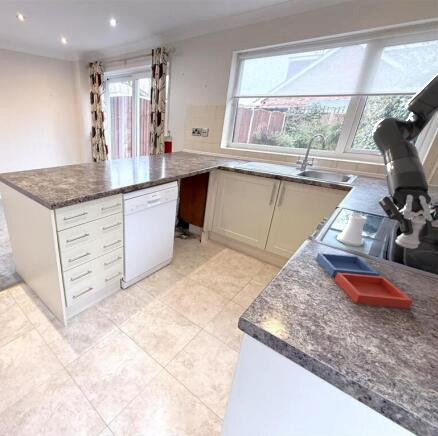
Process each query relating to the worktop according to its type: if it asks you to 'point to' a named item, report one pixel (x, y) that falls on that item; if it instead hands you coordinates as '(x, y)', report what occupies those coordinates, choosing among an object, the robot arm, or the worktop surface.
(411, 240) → the rook chess piece
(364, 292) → the red tray
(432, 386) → the worktop surface
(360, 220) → the vase
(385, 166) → the robot arm
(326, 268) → the blue tray
